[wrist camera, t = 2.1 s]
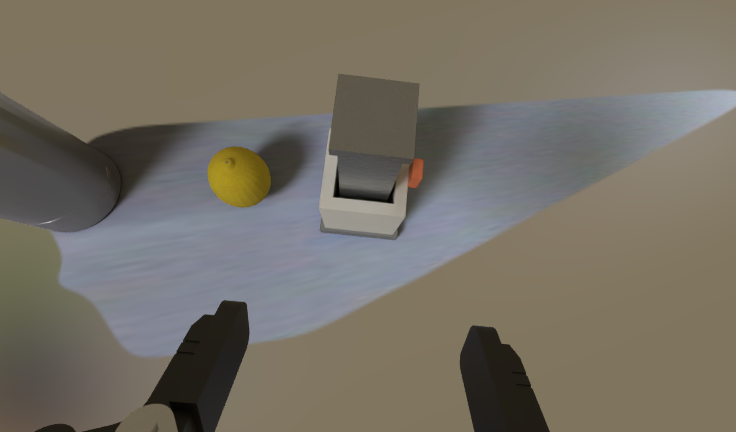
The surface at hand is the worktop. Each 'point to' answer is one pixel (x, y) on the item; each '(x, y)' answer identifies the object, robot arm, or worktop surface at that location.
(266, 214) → the worktop surface
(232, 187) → the lemon
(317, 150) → the worktop surface
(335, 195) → the stand
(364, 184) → the column
